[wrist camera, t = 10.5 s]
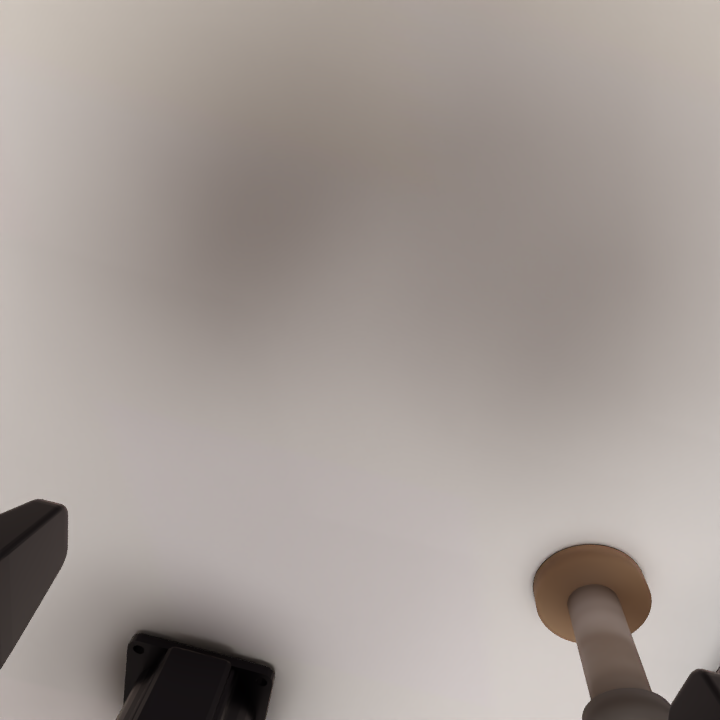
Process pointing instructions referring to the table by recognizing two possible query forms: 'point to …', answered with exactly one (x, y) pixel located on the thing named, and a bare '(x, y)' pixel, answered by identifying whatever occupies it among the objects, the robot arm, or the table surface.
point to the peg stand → (601, 626)
